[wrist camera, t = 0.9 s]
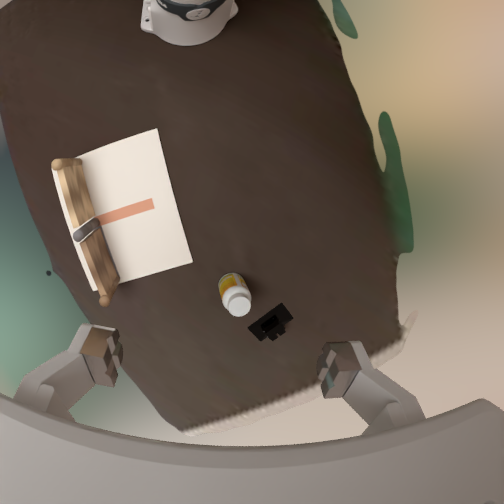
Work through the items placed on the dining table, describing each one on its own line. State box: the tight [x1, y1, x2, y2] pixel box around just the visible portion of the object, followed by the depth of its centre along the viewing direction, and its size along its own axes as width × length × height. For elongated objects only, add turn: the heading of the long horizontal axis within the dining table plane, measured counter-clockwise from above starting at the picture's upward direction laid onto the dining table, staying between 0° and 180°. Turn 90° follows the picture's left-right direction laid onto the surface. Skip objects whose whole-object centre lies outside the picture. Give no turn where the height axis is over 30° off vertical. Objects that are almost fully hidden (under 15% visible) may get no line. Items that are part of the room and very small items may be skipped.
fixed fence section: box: [73, 218, 120, 307], centre depth 45 cm, size 14×2×10 cm, turn 12°
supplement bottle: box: [219, 273, 251, 316], centre depth 54 cm, size 5×5×10 cm
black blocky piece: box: [248, 303, 293, 341], centre depth 62 cm, size 12×7×5 cm, turn 125°
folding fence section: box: [51, 158, 95, 229], centre depth 40 cm, size 11×2×10 cm, turn 12°
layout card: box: [52, 129, 193, 291], centre depth 48 cm, size 26×22×1 cm
